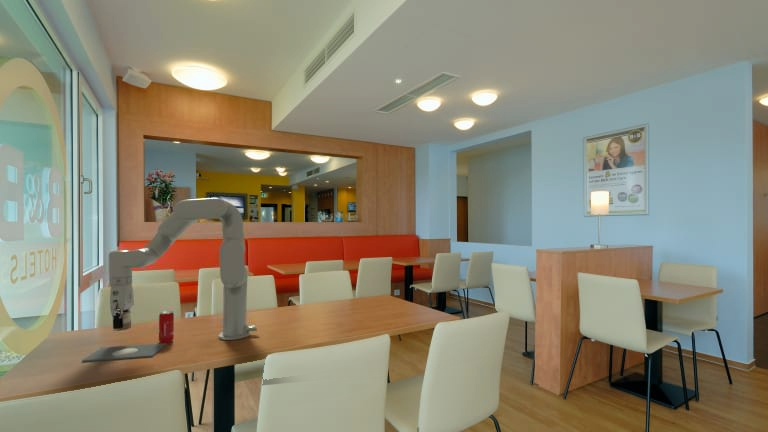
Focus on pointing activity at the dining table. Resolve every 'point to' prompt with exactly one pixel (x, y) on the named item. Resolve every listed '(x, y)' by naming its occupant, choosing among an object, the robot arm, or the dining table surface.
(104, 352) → the mat
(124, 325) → the birch drum
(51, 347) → the dining table surface
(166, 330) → the beverage can
